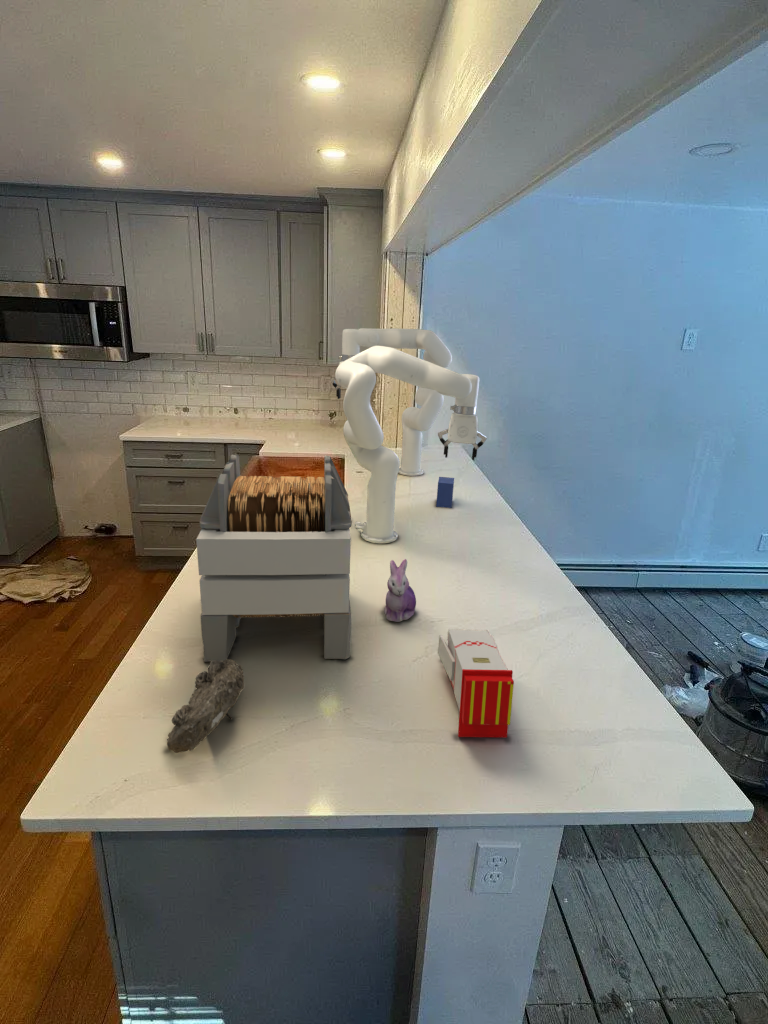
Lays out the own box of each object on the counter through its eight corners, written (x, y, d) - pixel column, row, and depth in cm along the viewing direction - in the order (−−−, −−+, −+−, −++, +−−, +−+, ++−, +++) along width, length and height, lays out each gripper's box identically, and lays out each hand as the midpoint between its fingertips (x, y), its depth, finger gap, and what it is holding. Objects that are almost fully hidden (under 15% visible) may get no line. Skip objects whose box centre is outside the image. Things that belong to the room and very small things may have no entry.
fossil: (192, 660, 117) (244, 628, 112) (224, 691, 120) (276, 661, 115) (142, 746, 98) (202, 712, 93) (182, 779, 101) (242, 748, 96)
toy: (488, 613, 130) (523, 677, 101) (484, 667, 133) (517, 744, 104) (435, 612, 130) (455, 676, 101) (432, 666, 133) (451, 743, 103)
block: (436, 506, 229) (437, 482, 226) (437, 500, 237) (439, 476, 234) (451, 508, 228) (453, 483, 225) (452, 501, 237) (454, 477, 233)
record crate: (225, 590, 155) (216, 445, 141) (344, 589, 159) (347, 447, 145) (201, 664, 123) (186, 485, 110) (351, 660, 127) (355, 487, 113)
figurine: (392, 627, 141) (395, 572, 136) (374, 608, 149) (376, 556, 144) (425, 619, 145) (429, 566, 140) (405, 601, 154) (408, 550, 149)
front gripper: (440, 409, 196) (435, 458, 201) (490, 414, 194) (484, 462, 200) (440, 406, 203) (435, 453, 208) (489, 411, 201) (483, 457, 207)
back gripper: (328, 358, 240) (328, 399, 246) (369, 360, 238) (367, 401, 244) (333, 357, 247) (332, 396, 253) (372, 359, 245) (370, 399, 251)
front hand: (459, 458), depth 204 cm, fingers open, 9 cm apart
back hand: (349, 399), depth 249 cm, fingers open, 9 cm apart
